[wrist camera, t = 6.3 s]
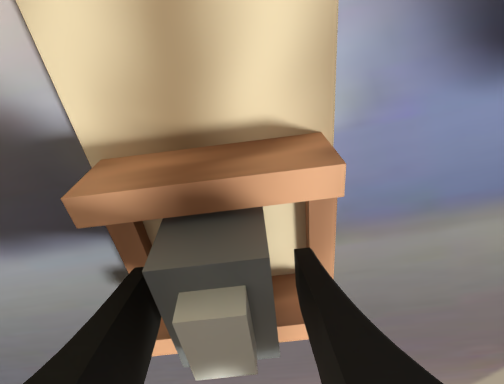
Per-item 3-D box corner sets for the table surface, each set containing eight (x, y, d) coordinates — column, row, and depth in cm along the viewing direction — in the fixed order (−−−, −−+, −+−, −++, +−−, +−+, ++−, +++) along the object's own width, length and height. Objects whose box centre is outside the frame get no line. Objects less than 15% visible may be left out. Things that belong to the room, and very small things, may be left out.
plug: (258, 175, 12) (273, 286, 7) (267, 259, 15) (284, 387, 10) (175, 184, 12) (130, 302, 7) (199, 267, 15) (178, 398, 10)
